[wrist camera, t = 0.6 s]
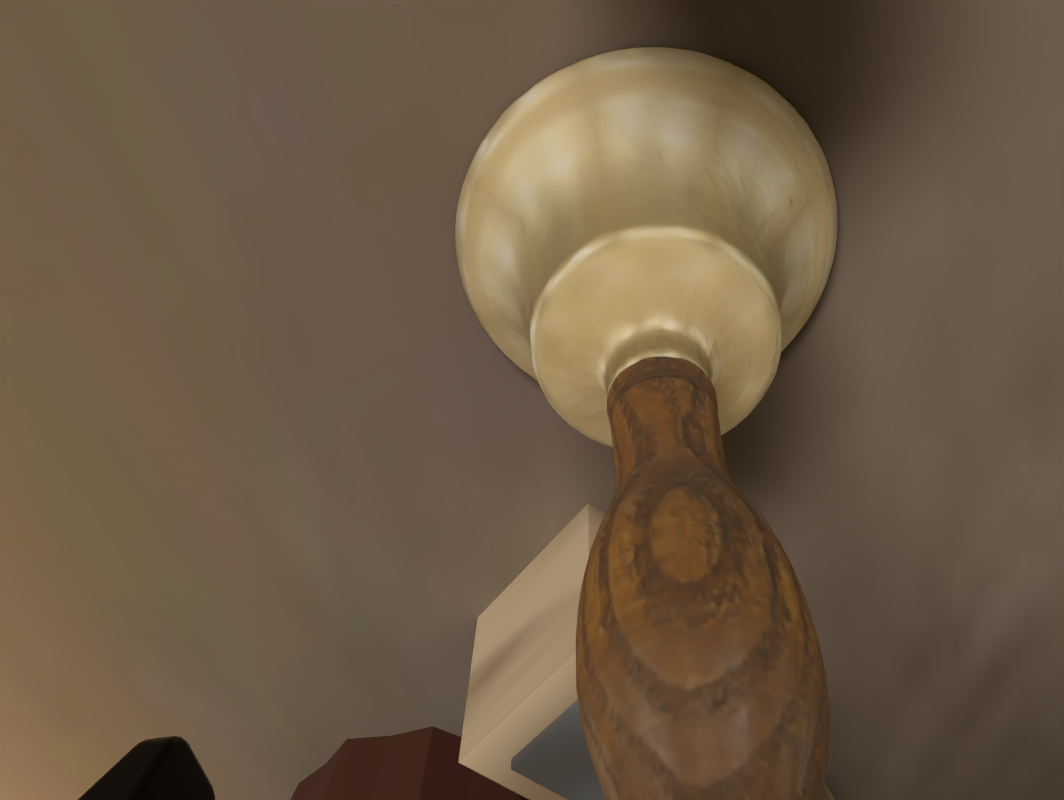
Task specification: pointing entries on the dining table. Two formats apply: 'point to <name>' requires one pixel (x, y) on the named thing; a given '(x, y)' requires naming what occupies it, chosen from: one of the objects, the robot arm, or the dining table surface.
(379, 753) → the muffin
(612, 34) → the dining table surface
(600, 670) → the hand bell
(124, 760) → the robot arm
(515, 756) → the oak block
